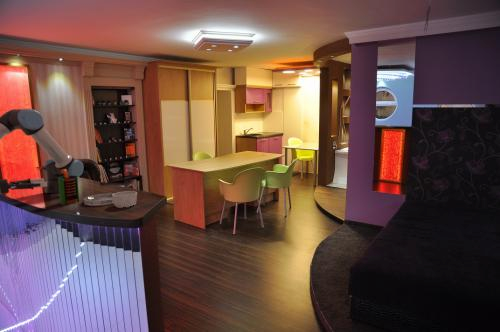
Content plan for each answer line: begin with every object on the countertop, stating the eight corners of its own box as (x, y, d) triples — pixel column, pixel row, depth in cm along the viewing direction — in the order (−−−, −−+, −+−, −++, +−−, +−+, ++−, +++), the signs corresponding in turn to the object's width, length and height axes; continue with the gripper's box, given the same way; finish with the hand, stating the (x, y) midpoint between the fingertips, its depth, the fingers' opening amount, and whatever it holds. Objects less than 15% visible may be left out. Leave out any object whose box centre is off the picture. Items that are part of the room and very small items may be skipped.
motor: (69, 205, 196) (66, 171, 194) (56, 204, 198) (52, 170, 195) (81, 200, 206) (78, 168, 203) (68, 200, 208) (65, 168, 205)
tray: (80, 201, 205) (80, 196, 205) (114, 196, 217) (114, 192, 217) (88, 208, 189) (87, 203, 189) (124, 202, 201) (124, 197, 201)
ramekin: (111, 209, 186) (110, 197, 185) (114, 203, 198) (113, 192, 197) (137, 207, 189) (136, 195, 188) (138, 201, 202) (137, 190, 201)
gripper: (-1, 190, 191) (43, 185, 204) (0, 197, 172) (49, 192, 184) (-2, 177, 190) (42, 173, 203) (-1, 183, 171) (47, 178, 183)
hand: (45, 182), depth 194 cm, fingers open, 13 cm apart
